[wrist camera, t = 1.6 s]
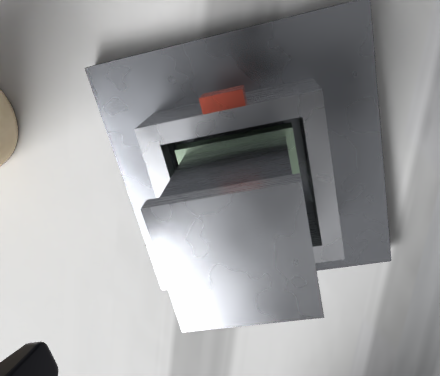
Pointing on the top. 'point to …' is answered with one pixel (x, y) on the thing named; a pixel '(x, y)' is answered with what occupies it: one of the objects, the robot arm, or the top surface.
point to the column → (236, 231)
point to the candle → (7, 129)
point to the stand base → (263, 118)
